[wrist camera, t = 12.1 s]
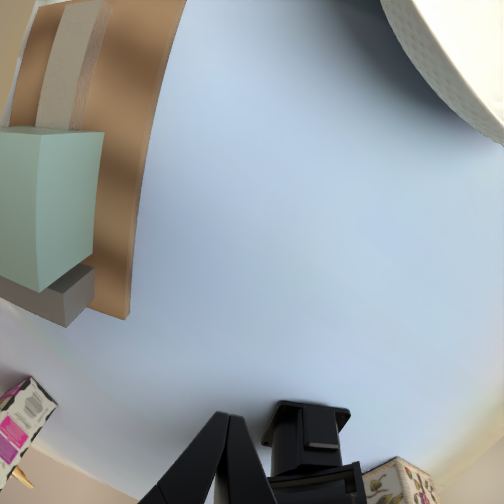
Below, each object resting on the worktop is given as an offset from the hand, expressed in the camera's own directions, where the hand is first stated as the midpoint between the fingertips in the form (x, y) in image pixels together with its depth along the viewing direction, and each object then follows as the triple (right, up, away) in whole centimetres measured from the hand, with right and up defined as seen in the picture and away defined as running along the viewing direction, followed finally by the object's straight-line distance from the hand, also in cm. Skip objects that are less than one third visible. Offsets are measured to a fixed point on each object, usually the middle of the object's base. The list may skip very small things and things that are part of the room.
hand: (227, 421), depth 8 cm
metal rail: (-12, +12, +9) cm, 19 cm away
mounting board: (-12, +12, +9) cm, 19 cm away
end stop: (-14, +4, +11) cm, 18 cm away
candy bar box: (-27, -13, +20) cm, 36 cm away
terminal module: (-12, +9, +9) cm, 18 cm away
